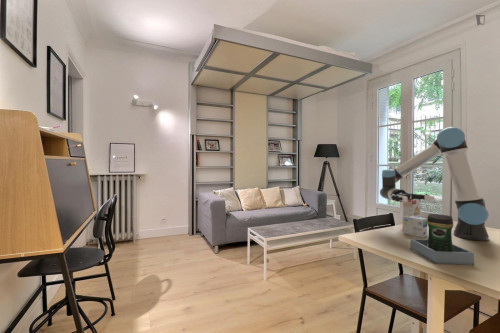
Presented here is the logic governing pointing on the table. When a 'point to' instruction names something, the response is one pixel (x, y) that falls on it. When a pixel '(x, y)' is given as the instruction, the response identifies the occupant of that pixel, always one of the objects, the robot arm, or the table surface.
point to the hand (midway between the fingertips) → (420, 199)
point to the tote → (442, 253)
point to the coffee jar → (440, 232)
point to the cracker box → (411, 208)
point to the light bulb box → (415, 226)
